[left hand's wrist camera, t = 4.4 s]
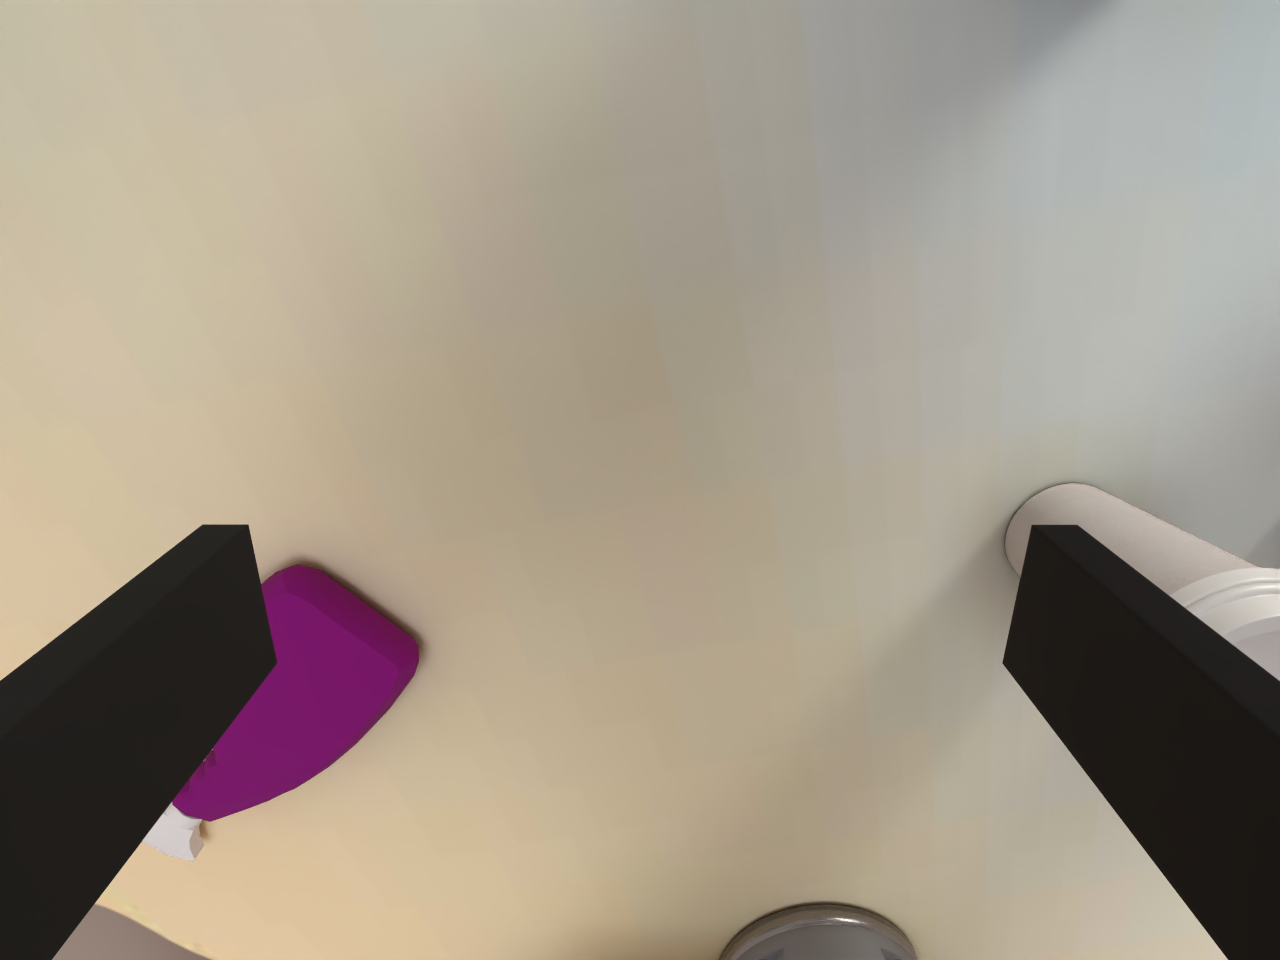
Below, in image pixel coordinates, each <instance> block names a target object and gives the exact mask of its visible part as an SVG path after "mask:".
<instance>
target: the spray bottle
mask: <svg viewBox="0 0 1280 960" xmlns="http://www.w3.org/2000/svg"><path fill="white" fill-rule="evenodd" d="M261 587H262V592H263V597H264V602H265V606H266V611H267V616H268V621H269V625H270V630H271V635H272V640H273V644H274V649H275V654H276V659H277V664H276V666H275V667H274V668H273V670H272V671H271V672H270V674H269V675H268V676H267V678H266V679H265V680H264V681H263V683H262V684H261V685H260V687H259V688H258V689H257V691H256V692H255V693H254V695H253V696H252V697H251V699H250V700H249V701H248V703H247V704H246V705H245V706H244V708H243V709H242V710H241V712H240V713H239V714H238V716H237V717H236V718H235V720H234V721H233V722H232V724H231V725H230V726H229V727H228V729H227V730H226V731H225V733H224V734H223V735H222V737H221V738H220V739H219V741H218V742H217V743H216V745H215V746H214V747H213V750H212V751H211V752H210V753H209V754H208V756H207V757H206V761H204V762H202V763H201V764H200V766H199V767H198V768H197V770H196V771H195V772H194V773H193V775H192V776H191V777H190V779H189V780H188V781H187V783H186V784H185V785H184V787H183V788H182V789H181V791H180V792H179V793H178V794H177V796H176V797H175V798H174V800H173V801H172V802H171V804H170V805H169V806H168V808H167V809H166V810H165V812H164V813H163V814H162V815H161V817H160V818H159V819H158V821H157V822H156V823H155V825H154V826H153V827H152V829H151V830H150V831H149V833H148V834H147V835H146V837H145V838H144V839H143V840H142V842H144V843H146V844H148V845H150V846H151V847H153V848H155V849H157V850H158V851H160V852H162V853H164V854H166V855H169V856H173V857H177V858H181V859H185V860H189V861H194V860H195V858H196V857H197V855H198V854H199V852H200V851H201V849H202V848H203V846H204V843H203V841H202V839H201V837H200V832H199V826H200V823H201V821H202V820H206V821H210V822H211V821H213V820H216V819H219V818H222V817H225V816H228V815H231V814H234V813H237V812H239V811H242V810H245V809H248V808H250V807H253V806H256V805H258V804H261V803H264V802H266V801H269V800H271V799H273V798H275V797H277V796H279V795H281V794H283V793H285V792H288V791H290V790H293V789H295V788H297V787H298V786H300V785H301V784H303V783H305V782H306V781H308V780H310V779H311V778H313V777H314V776H316V775H317V774H319V773H320V772H322V771H323V770H325V769H326V768H328V767H329V766H330V765H332V764H333V763H334V762H335V761H336V760H338V759H339V758H340V757H341V756H342V755H343V754H345V753H346V752H347V751H348V750H349V749H351V748H352V747H353V746H354V745H355V744H356V743H357V742H358V741H359V740H360V739H361V738H362V737H363V736H364V735H365V734H366V733H367V732H368V731H369V730H370V729H371V728H372V727H373V725H374V724H375V723H376V722H377V721H378V720H379V719H380V718H381V717H382V716H383V715H384V714H385V713H386V712H387V711H388V710H389V709H390V707H391V706H392V705H393V703H394V702H395V701H396V699H397V698H398V697H399V695H400V694H401V692H402V691H403V690H404V688H405V687H406V686H407V684H408V683H409V682H410V680H411V679H412V678H413V676H414V674H415V671H416V668H417V665H418V661H419V651H418V645H417V644H416V642H415V641H414V639H413V638H412V637H411V636H409V635H408V634H407V633H405V632H404V631H403V630H401V629H400V628H398V627H397V626H396V625H394V624H393V623H392V622H390V621H389V620H388V619H386V618H385V617H383V616H382V615H381V614H379V613H378V612H377V611H375V610H374V609H373V608H371V607H370V606H368V605H367V604H366V603H364V602H363V601H362V600H360V599H359V598H358V597H356V596H355V595H353V594H352V593H351V592H349V591H348V590H347V589H345V588H344V587H343V586H341V585H340V584H338V583H337V582H336V581H334V580H333V579H332V578H330V577H329V576H327V575H326V574H325V573H323V572H322V571H319V570H316V569H312V568H309V567H305V566H302V565H296V566H292V567H288V568H285V569H283V570H281V571H278V572H276V573H275V574H273V575H272V576H271V577H270V578H268V579H267V580H266V581H265V582H263V583H262V584H261Z"/></svg>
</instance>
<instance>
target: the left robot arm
mask: <svg viewBox="0 0 1280 960" xmlns="http://www.w3.org/2000/svg"><path fill="white" fill-rule="evenodd" d="M276 664H277V659H276V654H275V649H274V644H273V640H272V635H271V630H270V625H269V621H268V616H267V611H266V606H265V602H264V597H263V592H262V587H261V583H260V578H259V573H258V568H257V563H256V559H255V554H254V549H253V544H252V540H251V535H250V530H249V525H202V526H200V527H199V528H198V529H196V530H195V531H194V532H193V533H191V534H190V535H189V536H187V537H186V538H185V539H183V540H182V541H181V542H180V543H178V544H177V545H176V546H174V547H173V548H172V549H170V550H169V551H168V552H167V553H165V554H164V555H163V556H161V557H160V558H159V559H158V560H156V561H155V562H154V563H152V564H151V565H150V566H148V567H147V568H146V569H145V570H143V571H142V572H141V573H139V574H138V575H137V576H136V577H134V578H133V579H132V580H130V581H129V582H128V583H126V584H125V585H124V586H123V587H121V588H120V589H119V590H117V591H116V592H115V593H114V594H112V595H111V596H110V597H108V598H107V599H106V600H104V601H103V602H102V603H101V604H99V605H98V606H97V607H95V608H94V609H93V610H92V611H90V612H89V613H88V614H86V615H85V616H84V617H82V618H81V619H80V620H79V621H77V622H76V623H75V624H73V625H72V626H71V627H69V628H68V629H67V630H66V631H64V632H63V633H62V634H60V635H59V636H58V637H57V638H55V639H54V640H53V641H51V642H50V643H49V644H47V645H46V646H45V647H44V648H42V649H41V650H40V651H38V652H37V653H36V654H35V655H33V656H32V657H31V658H29V659H28V660H27V661H25V662H24V663H23V664H22V665H20V666H19V667H18V668H16V669H15V670H14V671H13V672H11V673H10V674H9V675H7V676H6V677H5V678H3V679H2V680H1V681H0V960H52V959H53V957H54V956H55V955H56V953H57V952H58V951H59V949H60V948H61V947H62V946H63V944H64V943H65V941H66V940H67V939H68V938H69V936H70V935H71V934H72V932H73V931H74V930H75V928H76V927H77V926H78V924H79V923H80V922H81V921H82V919H83V918H84V917H85V915H86V914H87V913H88V911H89V910H90V909H91V907H92V906H93V905H94V903H95V902H96V901H97V900H98V898H99V897H100V896H101V894H102V893H103V892H104V890H105V889H106V888H107V886H108V885H109V884H110V882H111V881H112V880H113V879H114V877H115V876H116V875H117V873H118V872H119V871H120V869H121V868H122V867H123V865H124V864H125V863H126V861H127V860H128V859H129V858H130V856H131V855H132V854H133V852H134V851H135V850H136V848H137V847H138V846H139V844H140V843H141V842H142V840H143V839H144V838H145V837H146V835H147V834H148V833H149V831H150V830H151V829H152V827H153V826H154V825H155V823H156V822H157V821H158V819H159V818H160V817H161V815H162V814H163V813H164V812H165V810H166V809H167V808H168V806H169V805H170V804H171V802H172V801H173V800H174V798H175V797H176V796H177V794H178V793H179V792H180V791H181V789H182V788H183V787H184V785H185V784H186V783H187V781H188V780H189V779H190V777H191V776H192V775H193V773H194V772H195V771H196V770H197V768H198V767H199V766H200V764H201V763H202V762H203V760H204V759H205V758H206V756H207V755H208V754H209V752H210V751H211V750H212V748H213V747H214V746H215V745H216V743H217V742H218V741H219V739H220V738H221V737H222V735H223V734H224V733H225V731H226V730H227V729H228V727H229V726H230V725H231V724H232V722H233V721H234V720H235V718H236V717H237V716H238V714H239V713H240V712H241V710H242V709H243V708H244V706H245V705H246V704H247V703H248V701H249V700H250V699H251V697H252V696H253V695H254V693H255V692H256V691H257V689H258V688H259V687H260V685H261V684H262V683H263V681H264V680H265V679H266V678H267V676H268V675H269V674H270V672H271V671H272V670H273V668H274V667H275V666H276ZM1003 664H1004V666H1005V667H1006V668H1007V670H1008V671H1009V672H1010V674H1011V675H1012V676H1013V678H1014V679H1015V680H1016V682H1017V683H1018V684H1019V685H1020V687H1021V688H1022V689H1023V691H1024V692H1025V693H1026V695H1027V696H1028V697H1029V699H1030V700H1031V701H1032V703H1033V704H1034V705H1035V706H1036V708H1037V709H1038V710H1039V712H1040V713H1041V714H1042V716H1043V717H1044V718H1045V720H1046V721H1047V722H1048V724H1049V725H1050V726H1051V727H1052V729H1053V730H1054V731H1055V733H1056V734H1057V735H1058V737H1059V738H1060V739H1061V741H1062V742H1063V743H1064V745H1065V746H1066V747H1067V748H1068V750H1069V751H1070V752H1071V754H1072V755H1073V756H1074V758H1075V759H1076V760H1077V762H1078V763H1079V764H1080V766H1081V767H1082V768H1083V770H1084V771H1085V772H1086V773H1087V775H1088V776H1089V777H1090V779H1091V780H1092V781H1093V783H1094V784H1095V785H1096V787H1097V788H1098V789H1099V791H1100V792H1101V793H1102V794H1103V796H1104V797H1105V798H1106V800H1107V801H1108V802H1109V804H1110V805H1111V806H1112V808H1113V809H1114V810H1115V812H1116V813H1117V814H1118V815H1119V817H1120V818H1121V819H1122V821H1123V822H1124V823H1125V825H1126V826H1127V827H1128V829H1129V830H1130V831H1131V833H1132V834H1133V835H1134V837H1135V838H1136V839H1137V840H1138V842H1139V843H1140V844H1141V846H1142V847H1143V848H1144V850H1145V851H1146V852H1147V854H1148V855H1149V856H1150V858H1151V859H1152V860H1153V861H1154V863H1155V864H1156V865H1157V867H1158V868H1159V869H1160V871H1161V872H1162V873H1163V875H1164V876H1165V877H1166V879H1167V880H1168V881H1169V882H1170V884H1171V885H1172V886H1173V888H1174V889H1175V890H1176V892H1177V893H1178V894H1179V896H1180V897H1181V898H1182V900H1183V901H1184V902H1185V903H1186V905H1187V906H1188V907H1189V909H1190V910H1191V911H1192V913H1193V914H1194V915H1195V917H1196V918H1197V919H1198V921H1199V922H1200V923H1201V925H1202V926H1203V927H1204V928H1205V930H1206V931H1207V932H1208V934H1209V935H1210V936H1211V938H1212V939H1213V940H1214V942H1215V943H1216V944H1217V946H1218V947H1219V948H1220V949H1221V951H1222V952H1223V953H1224V955H1225V956H1226V957H1227V959H1228V960H1280V681H1279V680H1278V679H1277V678H1275V677H1274V676H1273V675H1271V674H1270V673H1269V672H1267V671H1266V670H1265V669H1264V668H1262V667H1261V666H1260V665H1258V664H1257V663H1256V662H1255V661H1253V660H1252V659H1251V658H1249V657H1248V656H1247V655H1245V654H1244V653H1243V652H1242V651H1240V650H1239V649H1238V648H1236V647H1235V646H1234V645H1233V644H1231V643H1230V642H1229V641H1227V640H1226V639H1225V638H1223V637H1222V636H1221V635H1220V634H1218V633H1217V632H1216V631H1214V630H1213V629H1212V628H1211V627H1209V626H1208V625H1207V624H1205V623H1204V622H1203V621H1201V620H1200V619H1199V618H1198V617H1196V616H1195V615H1194V614H1192V613H1191V612H1190V611H1188V610H1187V609H1186V608H1185V607H1183V606H1182V605H1181V604H1179V603H1178V602H1177V601H1176V600H1174V599H1173V598H1172V597H1170V596H1169V595H1168V594H1166V593H1165V592H1164V591H1163V590H1161V589H1160V588H1159V587H1157V586H1156V585H1155V584H1154V583H1152V582H1151V581H1150V580H1148V579H1147V578H1146V577H1144V576H1143V575H1142V574H1141V573H1139V572H1138V571H1137V570H1135V569H1134V568H1133V567H1132V566H1130V565H1129V564H1128V563H1126V562H1125V561H1124V560H1122V559H1121V558H1120V557H1119V556H1117V555H1116V554H1115V553H1113V552H1112V551H1111V550H1110V549H1108V548H1107V547H1106V546H1104V545H1103V544H1102V543H1100V542H1099V541H1098V540H1097V539H1095V538H1094V537H1093V536H1091V535H1090V534H1089V533H1087V532H1086V531H1085V530H1084V529H1082V528H1081V527H1080V526H1078V525H1031V530H1030V535H1029V540H1028V544H1027V549H1026V554H1025V559H1024V563H1023V568H1022V573H1021V578H1020V583H1019V587H1018V592H1017V597H1016V602H1015V606H1014V611H1013V616H1012V621H1011V625H1010V630H1009V635H1008V640H1007V644H1006V649H1005V654H1004V659H1003ZM720 960H918V959H917V956H916V954H915V951H914V949H913V947H912V945H911V943H910V941H909V940H908V938H907V937H906V936H905V935H904V934H903V932H902V931H900V930H899V929H898V928H897V927H896V926H895V925H893V924H892V923H891V922H889V921H887V920H886V919H884V918H882V917H880V916H878V915H876V914H874V913H871V912H868V911H865V910H862V909H858V908H854V907H848V906H841V905H809V906H802V907H796V908H792V909H788V910H784V911H781V912H778V913H775V914H772V915H770V916H767V917H765V918H763V919H761V920H759V921H757V922H755V923H754V924H752V925H751V926H749V927H748V928H746V929H745V930H744V931H742V932H741V933H740V934H739V935H738V936H737V937H735V938H734V939H733V941H732V942H731V943H730V944H729V945H728V947H727V948H726V949H725V951H724V953H723V954H722V956H721V958H720Z"/></svg>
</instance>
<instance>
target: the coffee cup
mask: <svg viewBox="0 0 1280 960" xmlns="http://www.w3.org/2000/svg"><path fill="white" fill-rule="evenodd" d="M1031 525H1078V526H1080V527H1081V528H1082V529H1084V530H1085V531H1086V532H1087V533H1089V534H1090V535H1091V536H1093V537H1094V538H1095V539H1097V540H1098V541H1099V542H1100V543H1102V544H1103V545H1104V546H1106V547H1107V548H1108V549H1110V550H1111V551H1112V552H1113V553H1115V554H1116V555H1117V556H1119V557H1120V558H1121V559H1122V560H1124V561H1125V562H1126V563H1128V564H1129V565H1130V566H1132V567H1133V568H1134V569H1135V570H1137V571H1138V572H1139V573H1141V574H1142V575H1143V576H1144V577H1146V578H1147V579H1148V580H1150V581H1151V582H1152V583H1154V584H1155V585H1156V586H1157V587H1159V588H1160V589H1161V590H1163V591H1164V592H1165V593H1166V594H1168V595H1169V596H1170V597H1172V598H1173V599H1174V600H1176V601H1177V602H1178V603H1179V604H1181V605H1182V606H1183V607H1185V608H1186V609H1187V610H1188V611H1190V612H1191V613H1192V614H1194V615H1195V616H1196V617H1198V618H1199V619H1200V620H1201V621H1203V622H1204V623H1205V624H1207V625H1208V626H1209V627H1211V628H1212V629H1213V630H1214V631H1216V632H1217V633H1218V634H1220V635H1221V636H1222V637H1223V638H1225V639H1226V640H1227V641H1229V642H1230V643H1231V644H1233V645H1234V646H1235V647H1236V648H1238V649H1239V650H1240V651H1242V652H1243V653H1244V654H1245V655H1247V656H1248V657H1249V658H1251V659H1252V660H1253V661H1255V662H1256V663H1257V664H1258V665H1260V666H1261V667H1262V668H1264V669H1265V670H1266V671H1267V672H1269V673H1270V674H1271V675H1273V676H1274V677H1275V678H1277V679H1278V680H1279V681H1280V569H1274V568H1259V567H1257V566H1255V565H1253V564H1251V563H1249V562H1247V561H1245V560H1243V559H1241V558H1239V557H1236V556H1234V555H1232V554H1230V553H1228V552H1226V551H1224V550H1222V549H1220V548H1218V547H1216V546H1214V545H1212V544H1210V543H1208V542H1206V541H1204V540H1202V539H1199V538H1197V537H1195V536H1193V535H1191V534H1189V533H1187V532H1185V531H1183V530H1181V529H1179V528H1177V527H1175V526H1173V525H1171V524H1169V523H1167V522H1165V521H1163V520H1161V519H1159V518H1157V517H1155V516H1153V515H1151V514H1149V513H1147V512H1145V511H1143V510H1140V509H1138V508H1136V507H1134V506H1132V505H1130V504H1128V503H1126V502H1124V501H1122V500H1120V499H1118V498H1116V497H1114V496H1112V495H1110V494H1108V493H1106V492H1104V491H1102V490H1100V489H1098V488H1096V487H1093V486H1090V485H1086V484H1079V483H1069V484H1062V485H1057V486H1054V487H1051V488H1048V489H1046V490H1044V491H1042V492H1040V493H1038V494H1036V495H1035V496H1033V497H1032V498H1030V499H1029V500H1028V501H1027V502H1026V503H1025V504H1024V505H1023V506H1022V507H1021V508H1020V509H1019V510H1018V511H1017V513H1016V514H1015V515H1014V517H1013V519H1012V520H1011V522H1010V525H1009V527H1008V530H1007V533H1006V539H1005V550H1006V555H1007V558H1008V560H1009V562H1010V564H1011V566H1012V567H1013V569H1014V570H1015V572H1016V573H1017V574H1018V576H1019V577H1020V578H1021V573H1022V568H1023V563H1024V559H1025V554H1026V549H1027V544H1028V540H1029V535H1030V530H1031Z"/></svg>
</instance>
